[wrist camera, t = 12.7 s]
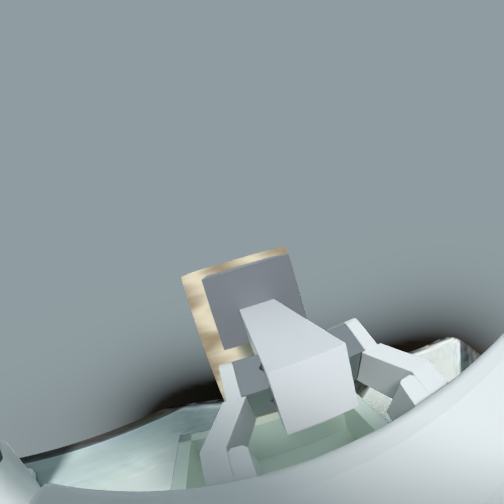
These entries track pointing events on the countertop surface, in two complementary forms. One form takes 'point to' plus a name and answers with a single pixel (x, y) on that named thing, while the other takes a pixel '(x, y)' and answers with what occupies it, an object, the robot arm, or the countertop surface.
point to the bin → (280, 443)
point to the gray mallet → (282, 340)
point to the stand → (205, 316)
